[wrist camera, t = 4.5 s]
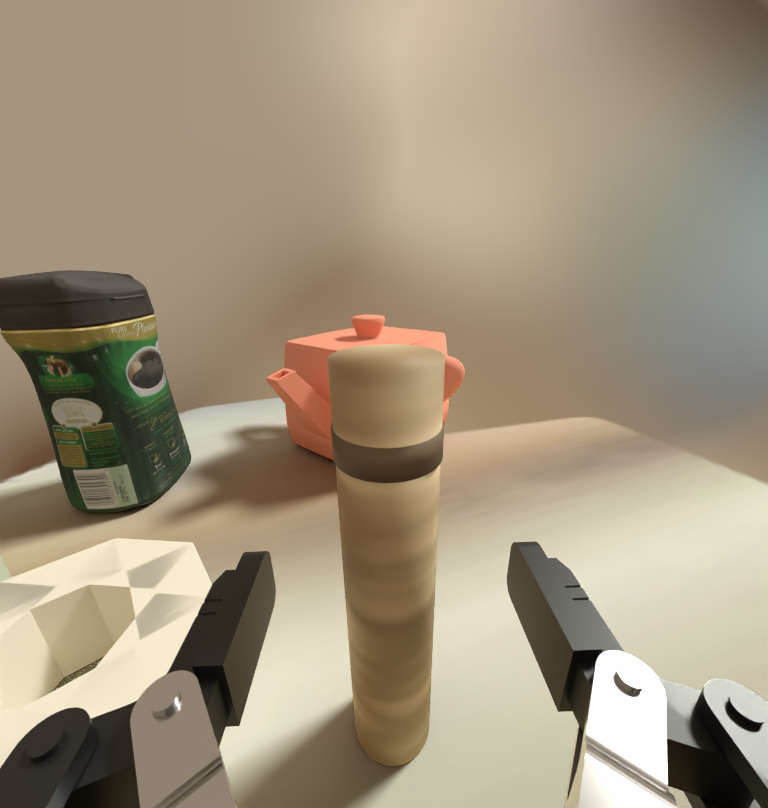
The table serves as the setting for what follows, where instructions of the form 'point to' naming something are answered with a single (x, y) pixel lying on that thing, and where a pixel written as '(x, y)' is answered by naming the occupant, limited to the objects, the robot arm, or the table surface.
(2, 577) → the sage bead
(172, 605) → the cream octagonal ring
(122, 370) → the coffee jar
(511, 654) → the table surface
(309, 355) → the teapot
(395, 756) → the grooved wooden dowel
